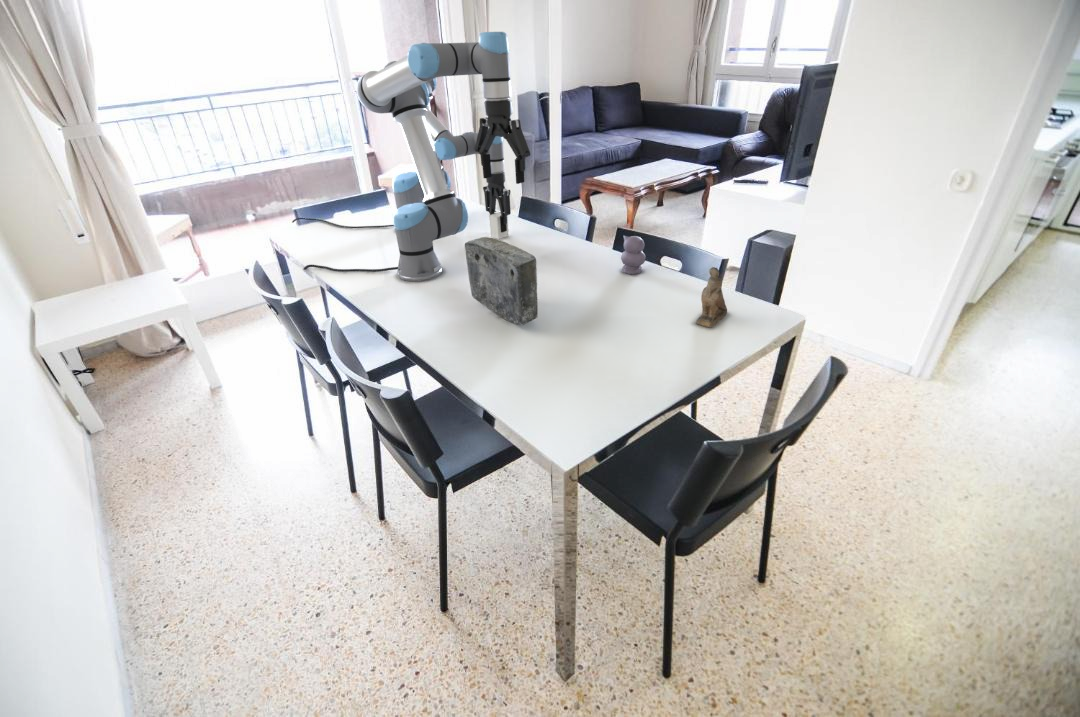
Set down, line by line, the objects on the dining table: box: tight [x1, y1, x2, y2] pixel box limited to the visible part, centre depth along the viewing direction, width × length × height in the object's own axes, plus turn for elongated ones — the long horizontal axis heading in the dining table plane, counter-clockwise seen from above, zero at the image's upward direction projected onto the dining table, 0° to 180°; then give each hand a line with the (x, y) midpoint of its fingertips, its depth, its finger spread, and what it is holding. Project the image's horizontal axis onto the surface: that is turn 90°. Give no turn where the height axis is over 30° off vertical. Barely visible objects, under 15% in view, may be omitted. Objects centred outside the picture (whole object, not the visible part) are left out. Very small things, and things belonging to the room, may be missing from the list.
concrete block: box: [464, 236, 539, 326], centre depth 141 cm, size 27×9×20 cm, turn 36°
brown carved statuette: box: [695, 266, 728, 328], centre depth 135 cm, size 12×6×18 cm, turn 136°
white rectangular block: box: [488, 211, 509, 240], centre depth 206 cm, size 5×6×9 cm
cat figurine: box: [620, 234, 646, 275], centre depth 168 cm, size 9×8×12 cm
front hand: (503, 180), depth 147 cm, fingers open, 13 cm apart
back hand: (499, 230), depth 207 cm, fingers closed on white rectangular block, 5 cm apart
